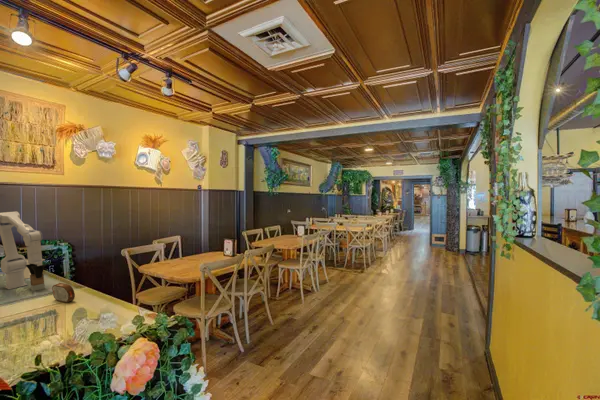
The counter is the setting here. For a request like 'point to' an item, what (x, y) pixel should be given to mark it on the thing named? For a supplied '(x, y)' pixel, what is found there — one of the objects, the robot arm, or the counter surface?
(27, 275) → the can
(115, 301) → the counter surface
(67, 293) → the tin
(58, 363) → the counter surface
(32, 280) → the walnut block
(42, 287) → the slate block
